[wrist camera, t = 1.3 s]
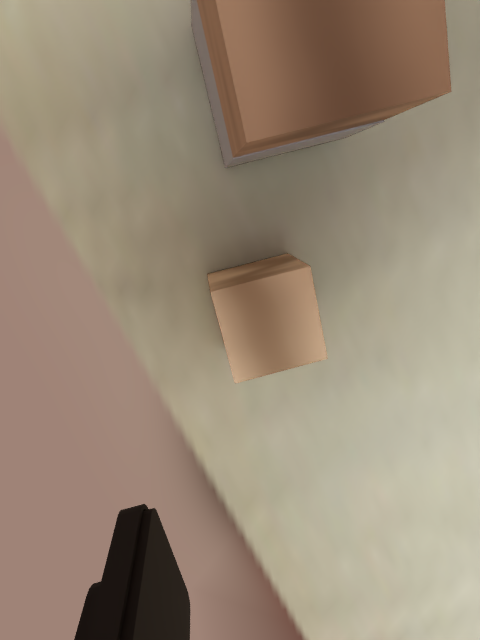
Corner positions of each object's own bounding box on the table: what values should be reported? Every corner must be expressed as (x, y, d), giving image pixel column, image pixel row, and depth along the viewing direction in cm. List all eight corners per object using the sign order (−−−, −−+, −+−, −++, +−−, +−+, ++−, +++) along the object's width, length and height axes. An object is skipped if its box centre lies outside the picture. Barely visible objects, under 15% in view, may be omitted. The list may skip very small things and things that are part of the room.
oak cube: (287, 253, 25) (310, 266, 20) (303, 329, 26) (327, 358, 21) (207, 274, 24) (210, 291, 20) (227, 349, 26) (234, 383, 21)
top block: (361, -70, 16) (431, -183, 11) (384, 119, 18) (451, 91, 13) (189, -30, 16) (188, -128, 11) (232, 157, 18) (246, 142, 13)
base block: (323, -7, 21) (361, -68, 16) (345, 137, 23) (384, 121, 18) (191, 25, 21) (190, -28, 16) (225, 168, 23) (233, 159, 18)
